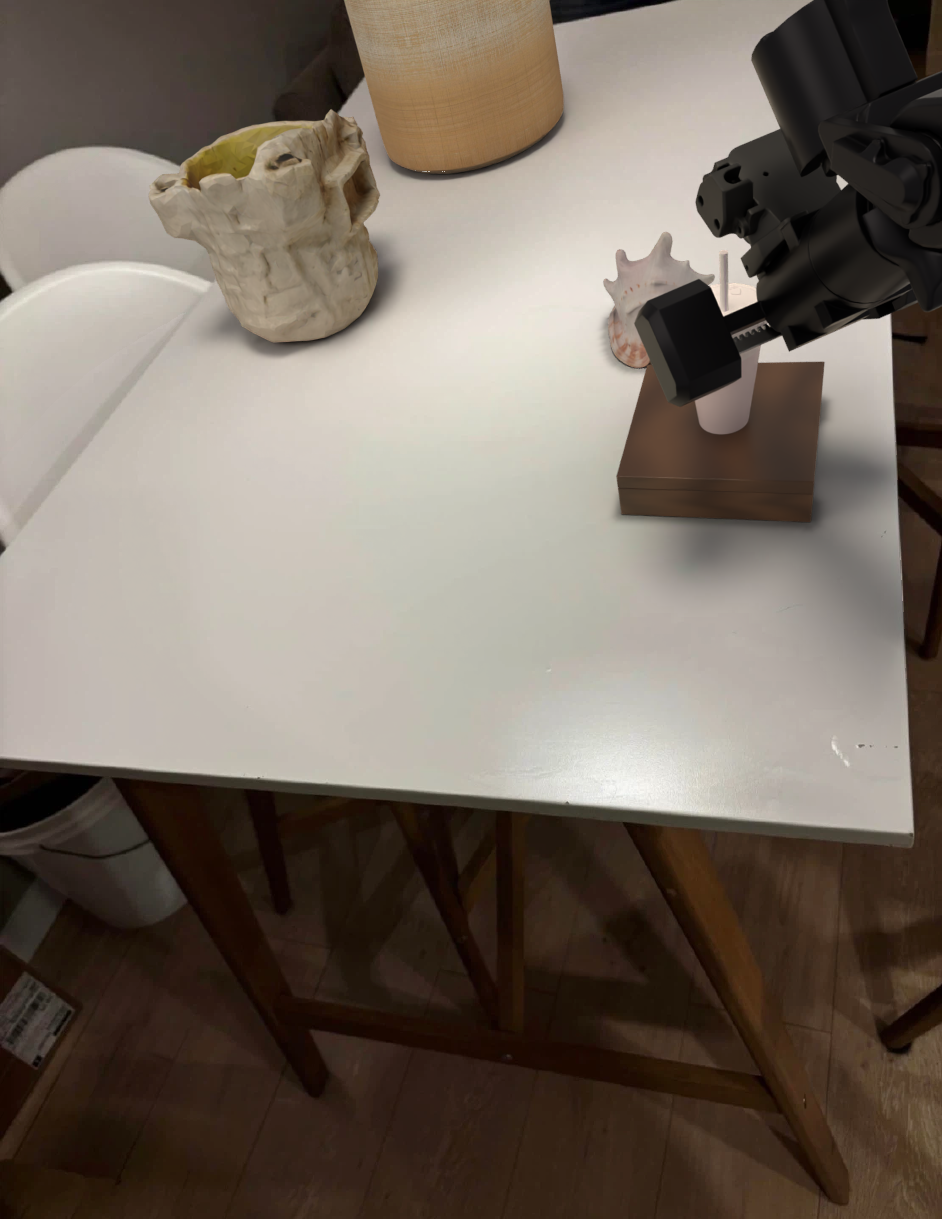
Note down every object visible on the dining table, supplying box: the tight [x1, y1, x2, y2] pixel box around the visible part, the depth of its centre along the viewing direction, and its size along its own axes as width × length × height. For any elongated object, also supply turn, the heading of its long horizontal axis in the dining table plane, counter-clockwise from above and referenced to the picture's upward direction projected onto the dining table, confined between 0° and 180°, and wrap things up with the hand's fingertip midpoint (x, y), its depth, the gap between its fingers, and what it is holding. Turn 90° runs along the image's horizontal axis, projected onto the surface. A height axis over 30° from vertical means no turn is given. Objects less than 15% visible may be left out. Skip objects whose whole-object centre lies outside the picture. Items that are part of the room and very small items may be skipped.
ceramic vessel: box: [148, 109, 381, 344], centre depth 96 cm, size 23×24×25 cm
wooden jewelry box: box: [615, 361, 826, 523], centre depth 70 cm, size 14×14×4 cm
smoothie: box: [695, 249, 769, 434], centre depth 63 cm, size 6×6×14 cm
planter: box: [343, 0, 565, 175], centre depth 116 cm, size 25×25×22 cm
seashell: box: [602, 231, 716, 369], centre depth 81 cm, size 10×12×9 cm
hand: (741, 339), depth 61 cm, fingers open, 9 cm apart
